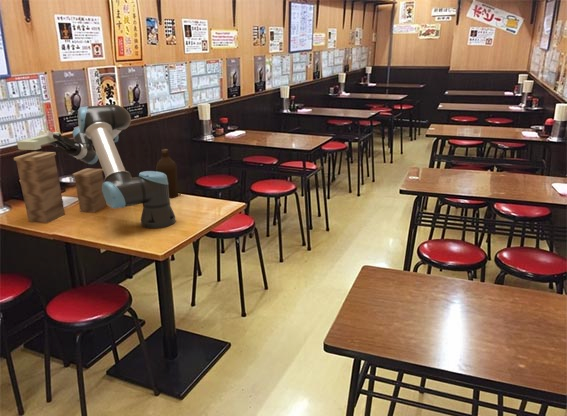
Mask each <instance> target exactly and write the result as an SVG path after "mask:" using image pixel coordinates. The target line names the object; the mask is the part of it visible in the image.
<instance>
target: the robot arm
mask: <svg viewBox="0 0 567 416" xmlns="http://www.w3.org/2000/svg"><path fill="white" fill-rule="evenodd" d="M77 121H78V127H75V128H74V129H73V130H72V137H73V139H71V138H69V137H67V136H62V133H61V134H59V136H58V135H57V134H55V133H53V132H52V131H50V130H48V129H47V131H46V132H45V131H44V130H42V129H39V130H38V134H37V136H41V135H45V134H47V135H46V136H47V137H49V138H51V139H53V140H55V141H54V142H51V143H48V144H49V145H50V146H53V147H54V148H57V147H58V148H61V149H62V150H64V152H65V153H66V154H67V155H69V156H71V157H73V158H76V160H80V161H81V162H84V164H88V165H94V164H97V161H99V163H100V166H101V169H103V171H102V172H103V174H104V176H105V178H103V184H102V192H103V194H104V198H105V200H106V203H107V206H109V208H111V209H123V208H126V207H127V208H128V207H130V206H137V205H141V204H142V211H141V216H140V225H141V226H142V227H143V228H147V229H161V228H166V227H169V226H172V225H173V224H175V223H176V215H175V213H174V211H173V208H172V206H171V201H170V199H171V198H169V189H168V180H167V176H166V175H165V174H164V173H161V172H156V170H155V171H154V170H146V171H145V170H144V171H141V172H139V174H138V176H135V177H132V175H131V173H130V172H129V171H127V170H126V168H125V166H124V163H123V162H122V159H121V156H120V154H119V151H118V149H117V146H116V144H115V143H117V142H119V134H120V133H121V132H122V131H124V130H126V129H128V127H129V126H130V125H131V122H132V118H131V114H130V112H129V111H128V110H127V109H126V108H125V107H123V106H121V105H117V104H103V105H102V104H99V105H86V106H81V107H79V108H78V110H77ZM57 140H58V141H57ZM93 147H94V148H93ZM94 149H95V150H94Z"/></svg>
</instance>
